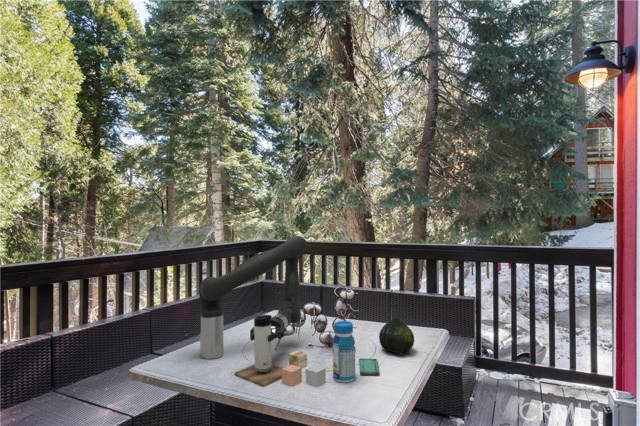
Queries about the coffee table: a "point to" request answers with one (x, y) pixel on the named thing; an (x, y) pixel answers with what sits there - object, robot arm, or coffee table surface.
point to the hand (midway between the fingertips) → (260, 338)
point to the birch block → (298, 359)
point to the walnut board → (260, 375)
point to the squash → (396, 337)
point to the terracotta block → (291, 375)
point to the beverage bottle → (343, 352)
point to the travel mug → (262, 343)
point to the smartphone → (369, 367)
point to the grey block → (315, 375)
